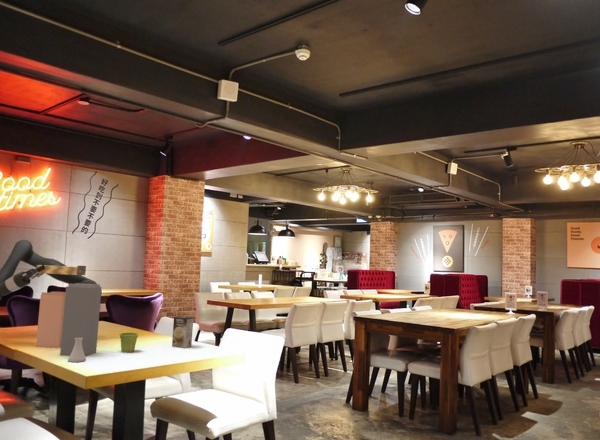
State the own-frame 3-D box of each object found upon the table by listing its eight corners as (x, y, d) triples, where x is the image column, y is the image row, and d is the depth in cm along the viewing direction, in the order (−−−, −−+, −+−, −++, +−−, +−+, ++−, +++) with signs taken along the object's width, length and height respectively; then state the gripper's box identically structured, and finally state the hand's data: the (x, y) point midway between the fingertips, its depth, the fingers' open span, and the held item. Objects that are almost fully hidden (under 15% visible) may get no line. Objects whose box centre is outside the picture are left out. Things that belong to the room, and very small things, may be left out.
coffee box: (171, 346, 264) (173, 316, 265) (178, 345, 270) (180, 315, 271) (184, 348, 260) (186, 318, 262) (192, 346, 266) (194, 317, 267)
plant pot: (135, 353, 241) (137, 335, 242) (116, 352, 240) (117, 335, 240) (139, 349, 250) (140, 332, 251) (119, 349, 249) (121, 332, 250)
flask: (78, 363, 213) (80, 339, 214) (64, 361, 214) (66, 338, 215) (89, 360, 220) (90, 337, 221) (74, 358, 222) (76, 336, 223)
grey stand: (60, 355, 228) (66, 283, 232) (72, 351, 239) (78, 283, 242) (84, 356, 228) (90, 285, 231) (96, 352, 238) (101, 284, 242)
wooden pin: (35, 272, 252) (36, 263, 252) (41, 272, 257) (41, 263, 257) (80, 275, 250) (81, 265, 251) (85, 275, 255) (86, 265, 256)
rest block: (36, 346, 247) (41, 292, 250) (47, 343, 257) (52, 291, 260) (58, 347, 246) (63, 293, 249) (69, 344, 256) (73, 292, 259)
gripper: (6, 275, 248) (36, 260, 248) (23, 274, 262) (51, 260, 262) (12, 288, 247) (42, 273, 247) (28, 287, 261) (57, 272, 261)
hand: (46, 266), depth 254 cm, fingers closed on wooden pin, 4 cm apart
